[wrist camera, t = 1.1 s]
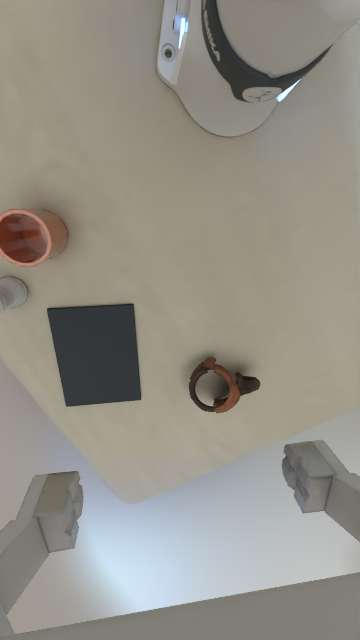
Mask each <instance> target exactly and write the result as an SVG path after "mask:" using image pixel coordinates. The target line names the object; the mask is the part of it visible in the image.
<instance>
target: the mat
mask: <svg viewBox="0 0 360 640" xmlns="http://www.w3.org/2000/svg"><path fill="white" fill-rule="evenodd" d="M47 312H48V317H49V322H50V327H51V332H52V337H53V342H54V347H55V352H56V357H57V362H58V367H59V372H60V377H61V382H62V387H63V393H64V398H65V403H66V407H68V406H79V405H90V404H101V403H112V402H124V401H135V400H141V393H140V380H139V368H138V356H137V343H136V331H135V318H134V306H133V304H125V305H106V306H87V307H69V308H50V309H47Z"/></svg>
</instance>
